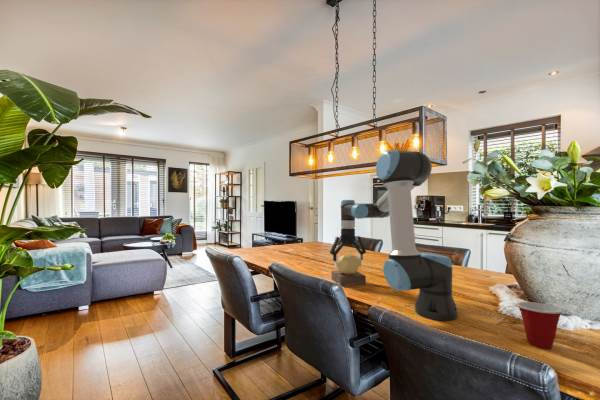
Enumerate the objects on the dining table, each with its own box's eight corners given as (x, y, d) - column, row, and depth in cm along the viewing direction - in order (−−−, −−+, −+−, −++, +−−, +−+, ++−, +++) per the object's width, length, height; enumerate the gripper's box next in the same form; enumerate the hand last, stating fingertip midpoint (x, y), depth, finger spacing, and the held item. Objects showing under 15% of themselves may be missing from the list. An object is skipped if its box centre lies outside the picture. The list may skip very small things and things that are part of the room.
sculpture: (348, 277, 147) (348, 256, 147) (333, 272, 157) (333, 253, 157) (363, 274, 154) (363, 254, 154) (348, 269, 163) (348, 251, 164)
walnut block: (365, 285, 150) (365, 275, 150) (340, 287, 147) (340, 277, 147) (354, 278, 164) (354, 269, 164) (331, 279, 160) (331, 271, 160)
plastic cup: (544, 336, 92) (544, 299, 92) (573, 354, 82) (573, 312, 82) (509, 335, 93) (508, 298, 93) (532, 352, 83) (532, 311, 83)
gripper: (366, 226, 162) (366, 264, 162) (324, 227, 157) (324, 266, 157) (372, 228, 154) (372, 267, 154) (328, 229, 149) (328, 269, 149)
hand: (348, 266), depth 155 cm, fingers open, 13 cm apart
